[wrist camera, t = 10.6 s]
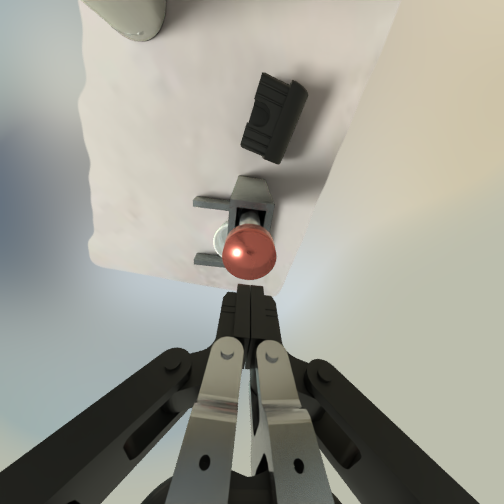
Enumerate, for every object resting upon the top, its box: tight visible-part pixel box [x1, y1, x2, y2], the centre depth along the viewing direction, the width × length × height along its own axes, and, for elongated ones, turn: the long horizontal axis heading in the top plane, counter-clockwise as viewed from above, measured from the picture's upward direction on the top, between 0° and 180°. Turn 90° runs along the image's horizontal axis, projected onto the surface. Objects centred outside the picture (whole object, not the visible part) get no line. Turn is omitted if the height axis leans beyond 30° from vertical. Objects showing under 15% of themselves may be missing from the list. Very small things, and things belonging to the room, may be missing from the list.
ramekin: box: [213, 221, 228, 257], centre depth 41 cm, size 9×9×4 cm
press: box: [193, 176, 275, 268], centre depth 34 cm, size 19×14×18 cm
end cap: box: [240, 72, 308, 164], centre depth 30 cm, size 10×7×7 cm
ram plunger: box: [222, 208, 276, 280], centre depth 20 cm, size 4×4×11 cm
